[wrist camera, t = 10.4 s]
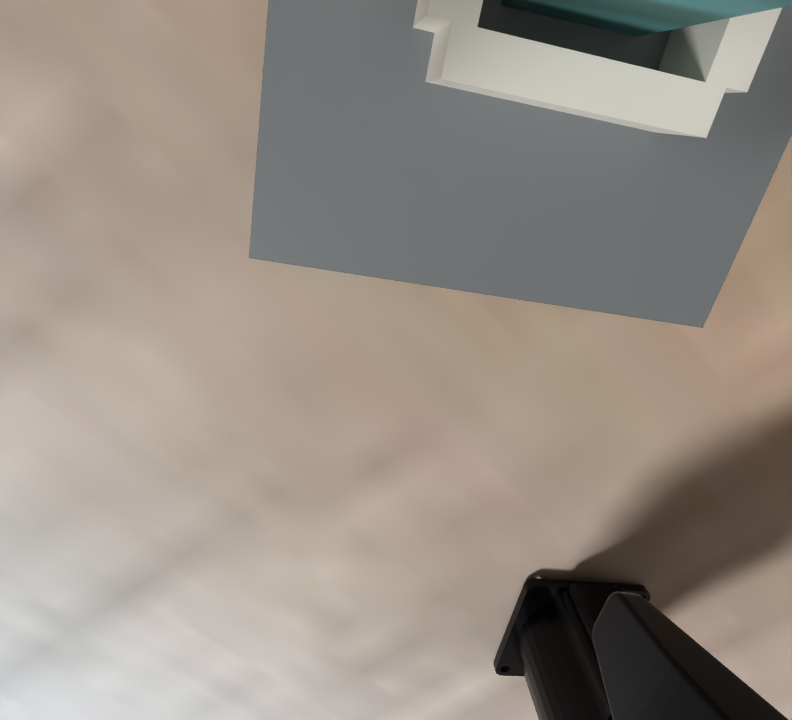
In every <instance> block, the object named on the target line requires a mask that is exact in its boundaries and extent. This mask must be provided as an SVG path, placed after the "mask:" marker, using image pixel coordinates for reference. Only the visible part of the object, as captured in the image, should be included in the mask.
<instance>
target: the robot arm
mask: <svg viewBox="0 0 792 720" xmlns="http://www.w3.org/2000/svg"><path fill="white" fill-rule="evenodd" d="M649 600H650V594H649V592H648V591H647V589H646V587H644V586H642V585H631V584H614V583H598V582H581V581H564V580H547V579H532V580H529V581H528V582H526V583H525V585H524V586H523V589H522V591H521V594H520V597H519V599H518V602H517V604H516V607H515V609H514V612H513V614H512V617H511V619H510V622H509V624H508V627H507V629H506V632H505V635H504V637H503V640H502V642H501V645H500V647H499V650H498V652H497V655H496V657H495V660H494V668H495V671H496V673H497V674H498V675H503V676H525V678H526V682H527V685H528V688H529V691H530V694H531V697H532V700H533V703H534V706H535V709H536V712H537V715H538V718H539V720H788V719H787V718H786V717H785V716H783V715H782V714H781V713H780V712H779V711H778V710H776V709H775V708H774V707H773V706H772V705H770V704H769V703H768V702H767V701H766V700H764V699H763V698H762V697H761V696H760V695H759V694H757V693H756V692H755V691H754V690H753V689H751V688H750V687H749V686H748V685H747V684H745V683H744V682H743V681H742V680H741V679H740V678H738V677H737V676H736V675H735V674H734V673H732V672H731V671H730V670H729V669H728V668H727V667H725V666H724V665H723V664H722V663H721V662H719V661H718V660H717V659H716V658H715V657H713V656H712V655H711V654H710V653H709V652H708V651H706V650H705V649H704V648H703V647H702V646H700V645H699V644H698V643H697V642H696V641H694V640H693V639H692V638H691V637H690V636H689V635H687V634H686V633H685V632H684V631H683V630H681V629H680V628H679V627H678V626H677V625H676V624H674V623H673V622H672V621H671V620H670V619H668V618H667V617H666V616H665V615H664V614H662V613H661V612H660V611H659V610H658V609H657V608H655V607H654V606H653V605H652V604H651V603H649Z"/></svg>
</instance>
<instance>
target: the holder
mask: <svg viewBox="0 0 792 720" xmlns="http://www.w3.org/2000/svg"><path fill="white" fill-rule="evenodd" d="M501 5H502V0H269V1H268V14H267V27H266V41H265V54H264V67H263V80H262V93H261V106H260V120H259V133H258V146H257V159H256V172H255V185H254V199H253V212H252V225H251V238H250V251H249V258H252V259H259V260H265V261H272V262H278V263H285V264H291V265H298V266H304V267H311V268H317V269H324V270H330V271H337V272H343V273H350V274H356V275H363V276H369V277H376V278H382V279H389V280H395V281H402V282H408V283H415V284H421V285H428V286H434V287H441V288H447V289H454V290H460V291H467V292H473V293H480V294H486V295H493V296H499V297H506V298H513V299H519V300H526V301H532V302H539V303H545V304H552V305H558V306H565V307H571V308H578V309H584V310H591V311H597V312H604V313H610V314H617V315H623V316H630V317H636V318H643V319H649V320H656V321H662V322H669V323H675V324H682V325H688V326H695V327H701V328H703V326H704V324H705V322H706V320H707V318H708V315H709V313H710V311H711V309H712V307H713V305H714V302H715V300H716V298H717V296H718V294H719V291H720V289H721V287H722V285H723V283H724V281H725V278H726V276H727V274H728V272H729V270H730V268H731V265H732V263H733V261H734V259H735V257H736V254H737V252H738V250H739V248H740V246H741V244H742V241H743V239H744V237H745V235H746V233H747V231H748V228H749V226H750V224H751V222H752V220H753V217H754V215H755V213H756V211H757V209H758V207H759V204H760V202H761V200H762V198H763V196H764V193H765V191H766V189H767V187H768V185H769V183H770V180H771V178H772V176H773V174H774V172H775V170H776V167H777V165H778V163H779V161H780V159H781V156H782V154H783V152H784V150H785V148H786V146H787V143H788V141H789V139H790V137H791V135H792V5H791V6H787V7H782V8H777V9H772V10H767V11H762V12H757V13H752V14H747V15H742V16H737V17H732V18H727V19H722V20H717V21H712V22H707V23H702V24H698V25H693V26H688V27H683V28H678V29H673V30H668V31H663V32H658V33H653V34H648V35H643V36H638V37H635V36H631V35H626V34H622V33H618V32H613V31H609V30H605V29H600V28H596V27H592V26H587V25H583V24H579V23H574V22H570V21H566V20H562V19H557V18H553V17H549V16H544V15H540V14H536V13H531V12H527V11H523V10H518V9H514V8H510V7H505V6H501Z"/></svg>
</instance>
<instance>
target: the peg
mask: <svg viewBox="0 0 792 720" xmlns="http://www.w3.org/2000/svg"><path fill="white" fill-rule="evenodd" d="M791 5H792V0H502V5H501V6H505V7H510V8H514V9H518V10H523V11H527V12H531V13H536V14H540V15H544V16H549V17H553V18H557V19H562V20H566V21H570V22H574V23H579V24H583V25H587V26H592V27H596V28H600V29H605V30H609V31H613V32H618V33H622V34H626V35H631V36H635V37H638V36H643V35H648V34H653V33H658V32H663V31H668V30H673V29H678V28H683V27H688V26H693V25H698V24H702V23H707V22H712V21H717V20H722V19H727V18H732V17H737V16H742V15H747V14H752V13H757V12H762V11H767V10H772V9H777V8H782V7H787V6H791Z"/></svg>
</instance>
